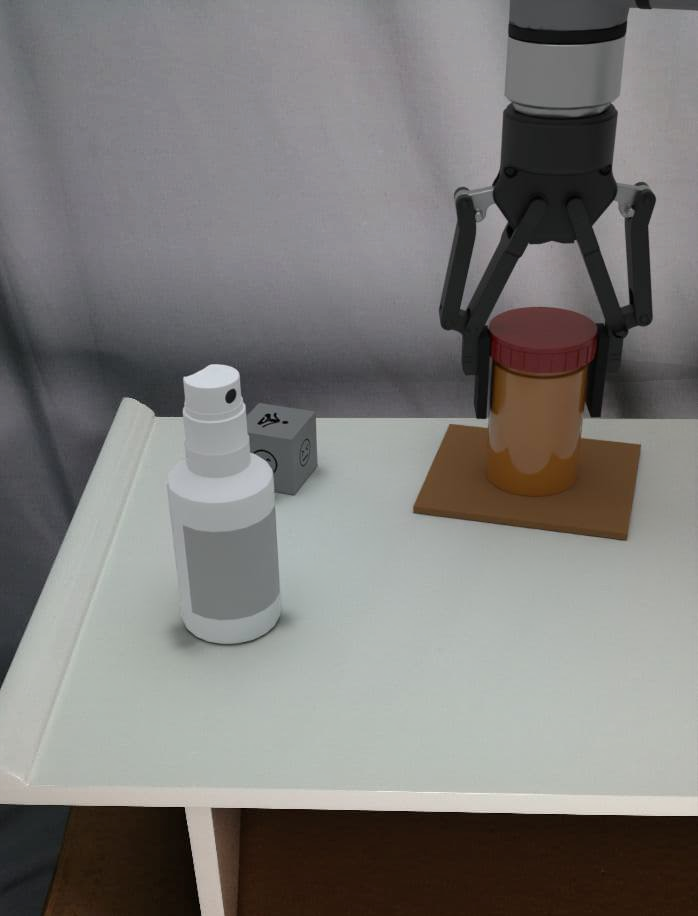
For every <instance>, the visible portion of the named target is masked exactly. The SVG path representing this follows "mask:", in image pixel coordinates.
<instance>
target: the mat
mask: <svg viewBox="0 0 698 916" xmlns="http://www.w3.org/2000/svg"><path fill="white" fill-rule="evenodd" d="M487 432H488V427H482V426H474V425H465V424H457V423H456V424H455V423H449V424H448V426H447V429H446V431H445V433H444V436H443V437H442V440H441V442H440V445H439V447H438V449H437V452H436V454H435V456H434V459H433V460H432V463H431V465H430V467H429V470H428V472H427V474H426V477H425V479H424V481H423V483H422V486H421V488H420V490H419V493H418V495H417V497H416V499H415V500H414V501H415V502H414V503H413V506H412V507H413V508H412V512H413V513H416V514H423V515H429V516H430V515H431V516H438V517H444V518H445V517H446V518H452V519H461V520H468V521H476V522H483V523H484V522H485V523H491V524H499V525H507V526H515V527H521V528H529V529H539V530H546V531H553V532H559V533H560V532H561V533H568V534H577V535H584V536H593V537H598V538H599V537H600V538H607V539H614V540H623V541H627V540H628V533H629V528H630V527H629V526H630V520H631V514H632V509H633V508H632V507H633V500H634V495H635V494H634V493H635V488H636V487H635V486H636V481H637V475H638V468H639V461H640V455H641V449H642V444H640V443H633V442H632V443H631V442H622V441H614V440H613V441H612V440H604V439H594V438H586V437H585V438H584V437H581V445H580V454H579V464H578V473H577V479H576V482H575V483H574V484H573V485H572V486H571V487H570V488H569V489H567V490H565V491H563V492H561V493H557V494H554V495H549V496H523V495H517V494H512V493H509V492H506V491H504V490H501V489H500V488H498V487H496V486H495V485H493V484H492V483H491V482H490V481H489V480H488V478H487V476H486V473H485V468H486V450H487Z"/></svg>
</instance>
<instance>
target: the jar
mask: <svg viewBox="0 0 698 916" xmlns="http://www.w3.org/2000/svg"><path fill="white" fill-rule="evenodd" d="M490 362H491V364H490V379H489V380H490V382H489V395H488V397H489V398H488V413H487V414H488V415H487V416H488V417H487V428H488V432H487V450H486V468H485V473H486V476H487V478H488V480H489V481H490V482H491V483H492V484H493V485H495V486H496V487H498V488H500V489H501V490H504V491H506V492H509V493H512V494H517V495H523V496H549V495H554V494H557V493H561V492H563V491H565V490H567V489H569V488H570V487H571V486H572V485H573V484H574V483H575V482H576V479H577V473H578V464H579V454H580V445H581V438H582V435H583V434H582V433H583V425H584V414H585V406H586V403H585V398H586V388H587V379H588V369H589V363H588V364H587V365H585V366H583V367H580V368H578V369H574V370H571V371H566V372H558V373H533V372H525V371H520V370H515V369H512V368H509V367H506V366H504V365H501V364H499V363H498V362H496V361H495V360H493V359H492V358H491V360H490Z"/></svg>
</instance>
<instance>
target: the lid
mask: <svg viewBox="0 0 698 916" xmlns="http://www.w3.org/2000/svg"><path fill="white" fill-rule="evenodd" d="M595 323H596V322H595V321H594V320H592V319H591V318H590V317H589V316H587V315H584V314H582V313H580V312H577V311H574V310H570V309H565V308H561V307H560V308H559V307H554V306H553V307H552V306H527V307H526V306H525V307H518V308H514V309H509V310H505V311H503V312H501V313H499V314H497V315H495V316H493V317H492V319H491V320H490V321H489V323H488V331H489V334H490V339H491V344H490V358H491V360H492V359H493V360H495V361H496V362H498V363H499V364H501V365H504V366H506V367H509V368H512V369H515V370H520V371H525V372H533V373H558V372H566V371H571V370H574V369H578V368H580V367H583V366H585V365H587V364H588V363H589V362H591V361H592V360H593V359H594V356H595V353H596V348H597V339H598V336H597V332H598V329H597V326H596V324H595Z"/></svg>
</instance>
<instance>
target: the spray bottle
mask: <svg viewBox="0 0 698 916" xmlns="http://www.w3.org/2000/svg"><path fill="white" fill-rule="evenodd" d="M182 378H183V379H182V381H183V382H182V383H183V391H184V405H183V406H184V407H183V408H182V419H183V427H184V428H183V429H184V430H183V431H184V452H185V458H183V459H182V460H180V461H179V462H177V463H176V464H175V465H174V467H173V468H172V469H171V470H170V472H169V473H168V475H167V482H166V492H167V500H168V509H169V518H170V526H171V535H172V536H171V537H172V543H173V544H172V545H173V552H174V560H175V569H176V576H177V577H176V578H177V587H178V595H179V604H180V612H181V618H182V621H183V624H184V625H185V628H186V629H187V630H188V631H189V632H190V633H191V634H192V635H194V636H195V637H196V638H199V639H201V640H203V641H206V642H208V643H215V644H221V645H230V644H231V645H233V644H241V643H245V642H246V643H247V642H250V641H254V640H256V639H257V638H259V637H262V636H263V635H266V634H268V633H269V632H270V631H271V629H273V628H274V627H275V626H276V625H277V622H278V620H279V618H280V616H281V614H282V602H281V601H282V600H281V583H280V581H281V580H280V567H279V566H280V565H279V549H278V531H277V529H278V528H277V515H276V495H275V492H274V477H273V471H272V469H271V467H270V466H269V464H268V463H267V462H266V461H265V460H264V459H262V458H260V457H259V456H257V455H256V454H253V453H250V443H249V435H248V434H247V420H246V416H247V406H246V403H244V399H243V396H242V388H241V376H240V372H239V371H238V369H236V368H234V367H232V366H230V365H226V364H217V363H215V364H214V363H213V364H209V365H207V366H205V367H204V368H203V369H200V370H198V371H197V372H195V373H193V374H190V375H187V376H183V377H182Z"/></svg>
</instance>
